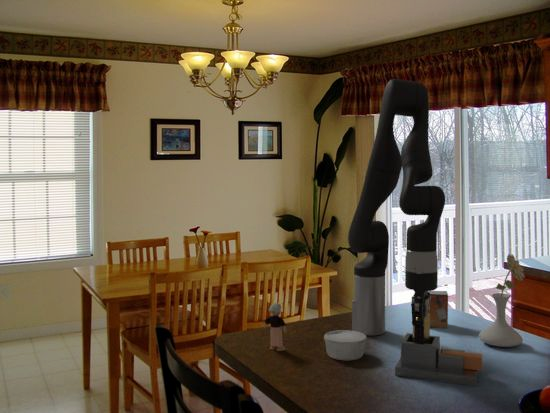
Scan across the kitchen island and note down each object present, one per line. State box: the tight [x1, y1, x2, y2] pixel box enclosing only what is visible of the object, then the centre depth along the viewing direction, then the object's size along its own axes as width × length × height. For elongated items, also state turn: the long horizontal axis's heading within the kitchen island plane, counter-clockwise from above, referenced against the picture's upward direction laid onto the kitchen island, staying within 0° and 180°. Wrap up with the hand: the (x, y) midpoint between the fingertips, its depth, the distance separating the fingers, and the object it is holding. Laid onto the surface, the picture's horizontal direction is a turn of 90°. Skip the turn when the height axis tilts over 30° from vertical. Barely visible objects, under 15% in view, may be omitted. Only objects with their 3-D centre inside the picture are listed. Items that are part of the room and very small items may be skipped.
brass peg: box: [412, 312, 431, 344], centre depth 137 cm, size 4×4×10 cm
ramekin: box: [323, 329, 368, 361], centre depth 149 cm, size 11×11×5 cm
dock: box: [394, 332, 479, 387], centre depth 136 cm, size 18×12×8 cm, turn 67°
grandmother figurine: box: [262, 302, 288, 352], centre depth 154 cm, size 8×4×13 cm, turn 65°
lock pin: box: [440, 350, 483, 372], centre depth 133 cm, size 9×3×3 cm, turn 67°
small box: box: [428, 290, 449, 329], centre depth 175 cm, size 8×6×10 cm
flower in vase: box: [478, 253, 526, 348], centre depth 156 cm, size 13×11×25 cm
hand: (420, 338), depth 137 cm, fingers open, 4 cm apart
